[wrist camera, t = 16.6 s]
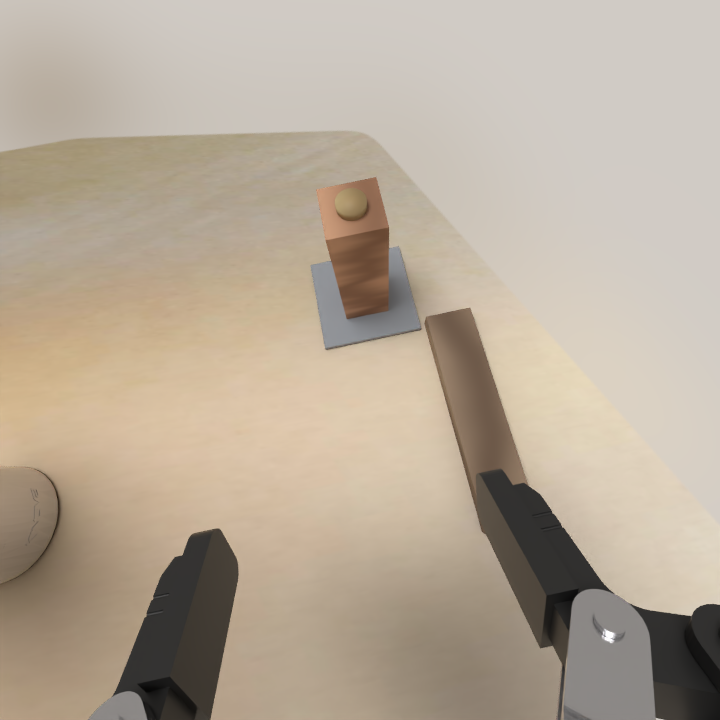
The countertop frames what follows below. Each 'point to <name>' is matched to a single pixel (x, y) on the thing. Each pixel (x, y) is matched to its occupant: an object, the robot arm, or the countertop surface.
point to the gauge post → (357, 244)
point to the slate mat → (369, 326)
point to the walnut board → (472, 398)
